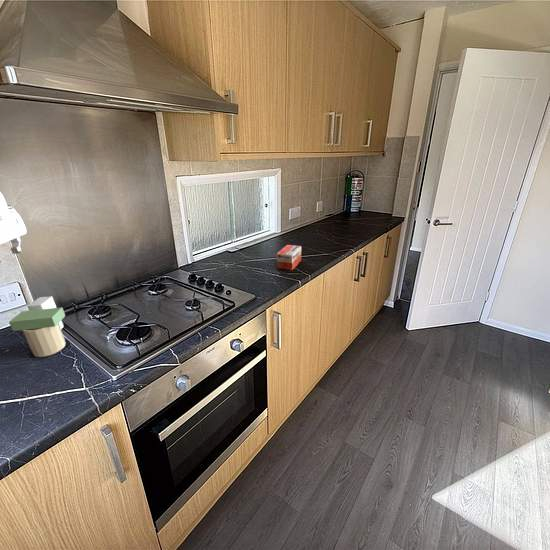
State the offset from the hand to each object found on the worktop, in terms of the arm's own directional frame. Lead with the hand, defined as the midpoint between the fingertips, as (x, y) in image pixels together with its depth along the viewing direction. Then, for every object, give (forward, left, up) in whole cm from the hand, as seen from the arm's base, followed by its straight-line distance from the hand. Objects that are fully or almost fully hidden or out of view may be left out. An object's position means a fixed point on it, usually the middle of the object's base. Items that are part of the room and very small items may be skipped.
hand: (7, 258), depth 85 cm
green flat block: (+7, -8, -18) cm, 21 cm away
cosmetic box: (+3, +1, -27) cm, 28 cm away
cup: (+7, -8, -27) cm, 29 cm away
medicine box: (+93, +44, -27) cm, 106 cm away
